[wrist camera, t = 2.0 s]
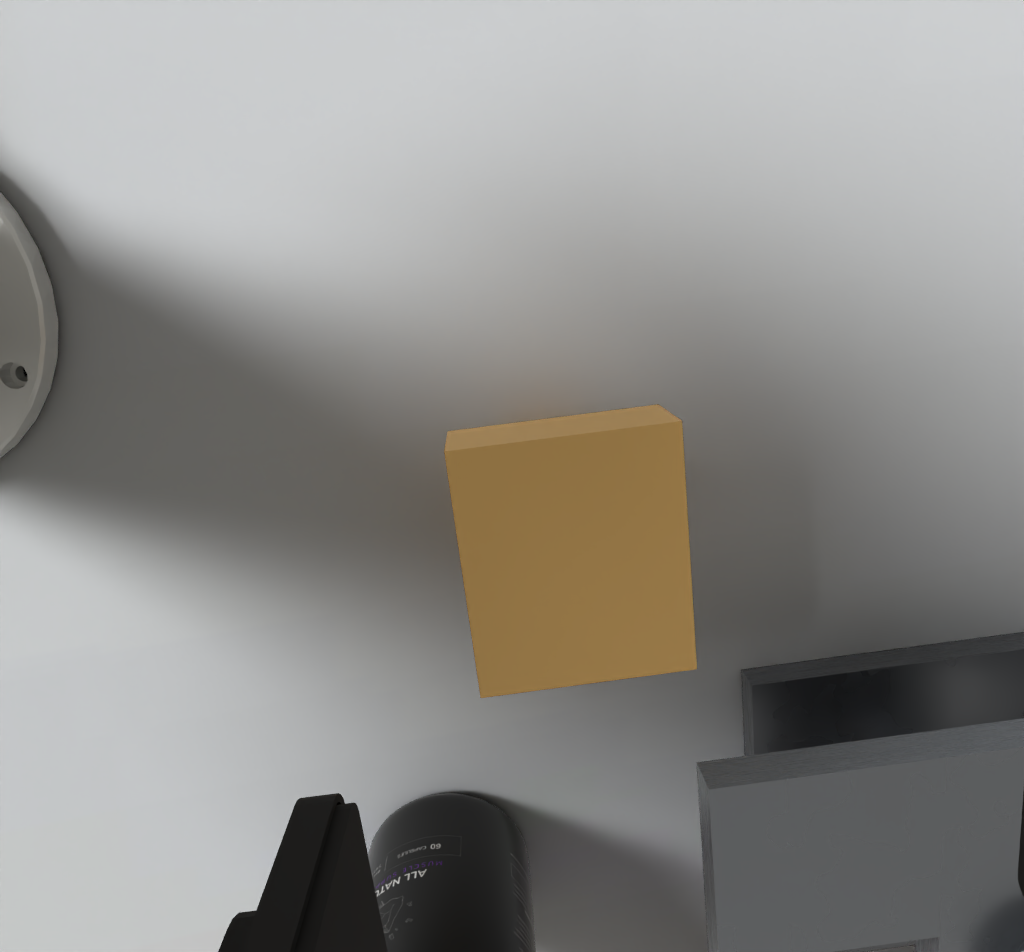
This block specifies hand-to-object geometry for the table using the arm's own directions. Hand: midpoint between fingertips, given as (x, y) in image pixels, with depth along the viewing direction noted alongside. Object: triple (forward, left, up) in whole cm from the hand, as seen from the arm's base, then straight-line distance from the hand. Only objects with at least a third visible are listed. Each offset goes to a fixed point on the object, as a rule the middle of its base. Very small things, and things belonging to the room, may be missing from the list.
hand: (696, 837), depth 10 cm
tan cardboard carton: (0, 0, -18) cm, 18 cm away
